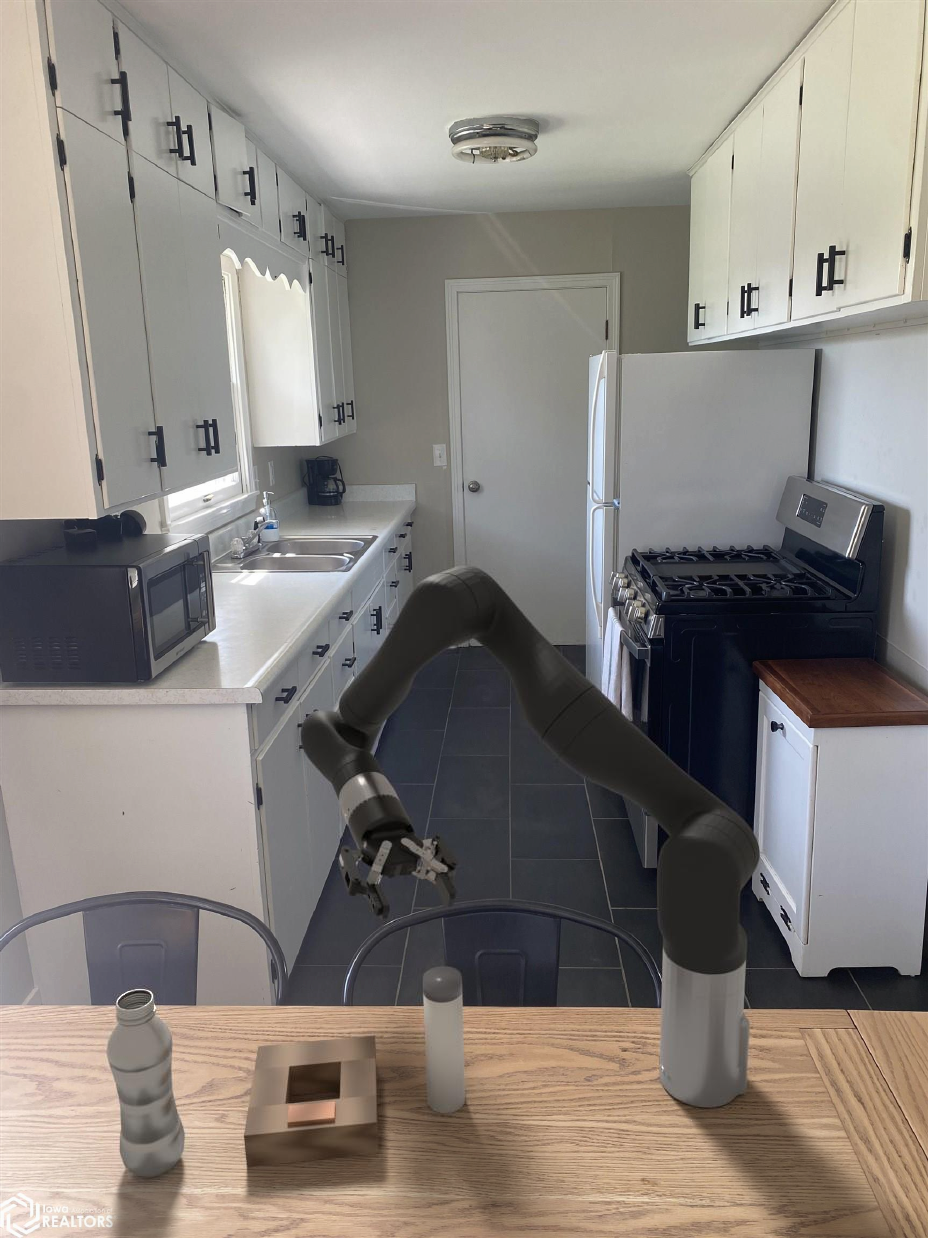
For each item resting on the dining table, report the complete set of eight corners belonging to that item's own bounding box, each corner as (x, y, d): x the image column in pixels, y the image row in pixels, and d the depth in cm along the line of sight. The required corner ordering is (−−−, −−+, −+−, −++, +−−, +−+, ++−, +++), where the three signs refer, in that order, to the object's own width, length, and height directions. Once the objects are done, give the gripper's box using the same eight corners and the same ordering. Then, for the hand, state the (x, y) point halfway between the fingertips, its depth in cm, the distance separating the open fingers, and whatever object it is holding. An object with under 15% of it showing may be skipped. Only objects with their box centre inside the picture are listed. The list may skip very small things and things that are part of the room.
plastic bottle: (168, 1191, 96) (148, 1023, 92) (109, 1182, 98) (86, 1016, 93) (197, 1143, 102) (180, 984, 98) (142, 1135, 104) (122, 977, 99)
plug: (463, 1084, 110) (459, 964, 107) (467, 1111, 106) (463, 988, 102) (426, 1087, 110) (421, 968, 106) (428, 1115, 106) (424, 991, 102)
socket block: (376, 1064, 114) (374, 1032, 113) (378, 1153, 100) (376, 1119, 99) (260, 1075, 113) (257, 1043, 112) (246, 1167, 99) (243, 1132, 98)
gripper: (327, 799, 117) (369, 896, 105) (429, 787, 124) (479, 877, 112) (318, 842, 121) (357, 941, 109) (417, 828, 127) (465, 920, 115)
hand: (419, 908), depth 110 cm, fingers open, 8 cm apart
